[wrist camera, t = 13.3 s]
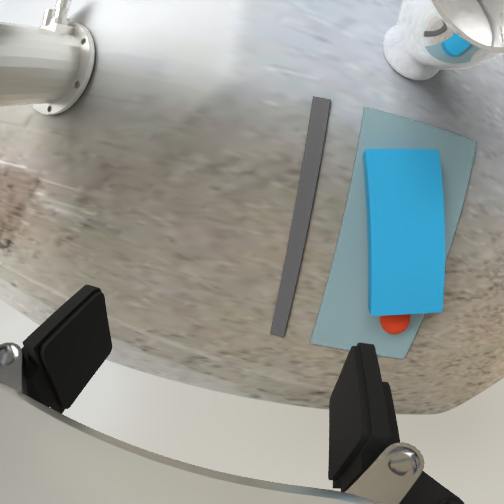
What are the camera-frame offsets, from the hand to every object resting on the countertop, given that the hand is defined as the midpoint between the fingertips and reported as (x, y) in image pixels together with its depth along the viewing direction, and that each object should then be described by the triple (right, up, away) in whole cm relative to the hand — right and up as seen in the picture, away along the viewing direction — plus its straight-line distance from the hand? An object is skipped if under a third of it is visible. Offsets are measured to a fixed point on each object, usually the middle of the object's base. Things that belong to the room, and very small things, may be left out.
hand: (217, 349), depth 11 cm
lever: (+16, +4, +19) cm, 25 cm away
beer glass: (+16, +22, +12) cm, 30 cm away
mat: (+16, +4, +19) cm, 25 cm away
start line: (+6, +6, +21) cm, 22 cm away
